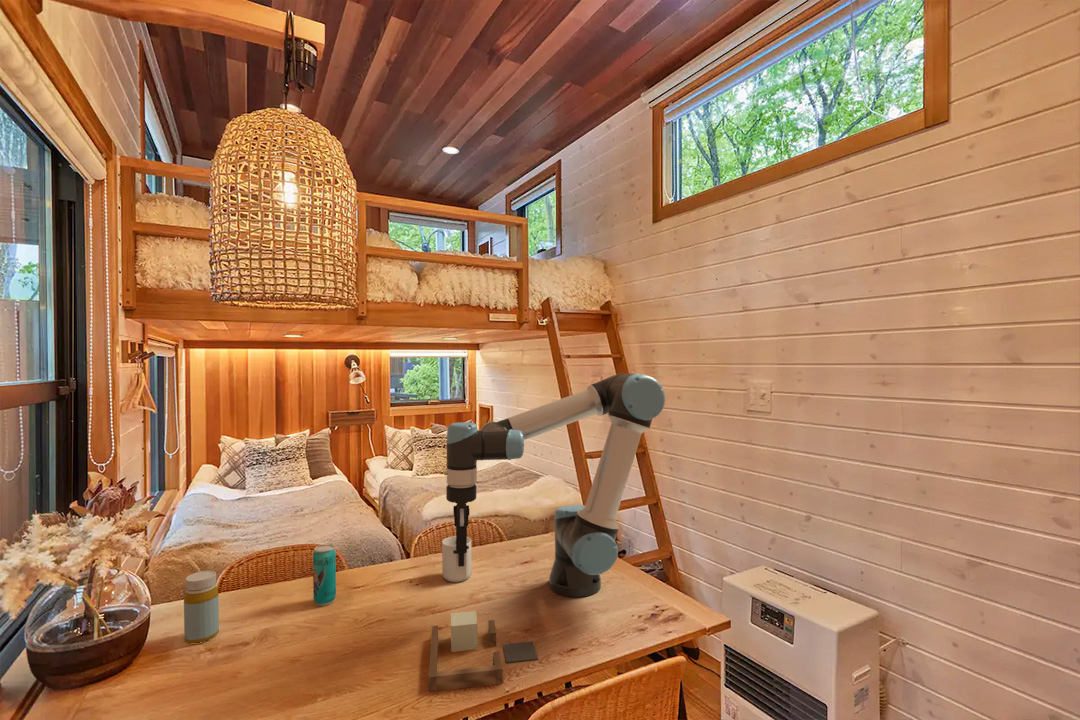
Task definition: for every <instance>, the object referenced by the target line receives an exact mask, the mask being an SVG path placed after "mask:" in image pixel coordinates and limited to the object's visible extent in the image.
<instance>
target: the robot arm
mask: <svg viewBox="0 0 1080 720" xmlns="http://www.w3.org/2000/svg"><path fill="white" fill-rule="evenodd" d="M665 401H666V395H665V391H664V389H663V387H662V385H661V383H660V382H659V381H658V380H657V379H656V378H654V377H652V376H650V375H648V374H643V373H630V372H620V373H616V374H614V375H613V374H612V376H609V377H607V378H605V379H602V380H600V381H597V382H594V383H592V384H589V385H588V386H587V388H586V389H585V390H582V391H580V392H577V393H574V394H571V395H568V396H565V397H563V398H560V399H557V400H555V401H552V402H549V403H546V404H542V405H540V406H537V407H535V408H532V409H529V410H526V411H523V412H520V413H518V414H515V415H512V416H510V417H507V418H505V419H501V420H499V421H489V422H487V423H485V424H484V425H483V426H482V427H481V429H480V430H478V427H477V423H475V422H463V421H462V422H453V423H451V424H449V425H448V426H447V429H446V471H444V473H443V475H444V476H446V483H447V486H446V489H445V490H446V494H445V495H446V496H445V497H446V500H447V501H448V502H449V503H455V504H456V505H453V508H452V509H453V517H454V527H455V536H456V541H455V543H456V550H453V554H456V579H458V578H466V564H467V549H469V546H467V537H468V536H467V532H468V531H467V530H468V527H469V517H470V505H467V504H468V503H472V502H474V501H476V499H477V485H476V483H477V482H478V479H477V475H478V470H477V469H478V466H477V465H478V464H477V463H478V461H492V460H493V461H501V460H507V461H511V460H517V459H521V458H522V457H523V455H524V451H525V441H526V440H528V439H532V438H534V437H536V436H540V435H542V434H545V433H547V432H551V431H553V430H556V429H558V428H562V427H565V426H566V425H570V424H572V423H575V422H578V421H581V420H584V419H585V418H588V417H591V416H594V415H597V416H599V417H601V416H604V415H607V416H608V418H609V421H610V427H609V429H608V433H607V437H606V439H605V442H604V446H603V448H602V452H601V456H600V457H599V458H600V459H599V461H598V465H597V468H596V470H595V471H596V472H595V474H594V477H593V481H592V484H591V487H590V490H589V493H588V496H587V500H586V503H585V505H582V504H581V505H579V504H576V505H575V504H574V505H564V506H560V507H557V508H556V509H555V511H554V518H553V520H554V561H553V565H552V568H551V571H550V574H549V578H548V579H549V581H548V583H549V585H548V586H549V588H550V589H551V590H552V592H554V593H556V594H559V595H561V596H564V597H572V598H580V597H588V596H591V595H593V594H596V593H598V592H599V591H600V590H601V587H602V578H601V574H604V573H606V572H608V571H609V570H610V569H611V568H612V567H613V566H614V565H615V563H616V561H617V559H618V557H619V556H618V554H619V549H618V545H617V543H616V537H617V534H618V531H619V528H620V527H619V523H618V522H617V519H616V518H617V515H618V511H619V510H620V505H621V501H622V498H623V495H624V493H625V489H626V485H627V482H628V479H629V476H630V473H631V469H632V466H633V463H634V460H635V456H636V453H637V450H638V447H639V444H640V440H641V437H642V434H643V433H645V432H646V431H648V430H650V428H651V424H652V422H653V419H654V418H656V417H657V416H659V415H660V414H661V412H662V411H663V409H664V407H665Z"/></svg>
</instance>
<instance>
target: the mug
mask: <svg viewBox="0 0 1080 720" xmlns="http://www.w3.org/2000/svg"><path fill="white" fill-rule="evenodd" d="M455 541H456V535H453V536H448V537H446V538H444V539H442V541H441V561H442V563H441V570H442V573H441V574H442V577H443V578H444V579H445V580H446V581H447V582H451V583H460V582H464V581H467V580H468V579H469V578H470V577H471V575H472V571H473V570H472V569H473V568H472V567H473V566H472V564H473V563H472V561H473V560H472V559H473V558H472V539H471V537H469V536H467V546H469V549H467V564H466V578H458V579H456V554H453V550H456V543H455Z"/></svg>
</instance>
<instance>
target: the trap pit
mask: <svg viewBox="0 0 1080 720" xmlns="http://www.w3.org/2000/svg"><path fill="white" fill-rule="evenodd" d="M502 647H503V651H504V652H503V653H504V656H505V662H506V664H511V663H520V662H522V663H523V662H527V661H528V662H530V661H538V659H539V658H538V655H537V652H536V648H535V645H534V641H533V640H531V641H523V642H521V641H520V642H512V643H504V644H503V645H502Z"/></svg>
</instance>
